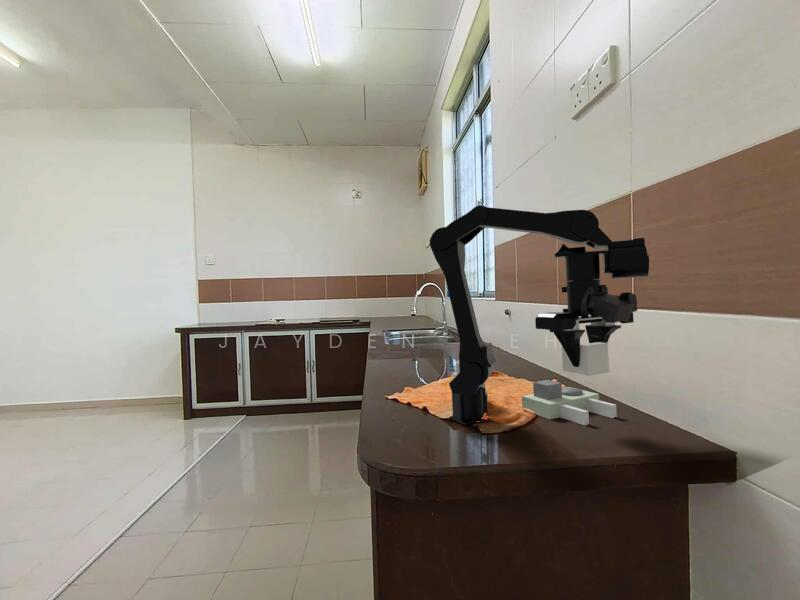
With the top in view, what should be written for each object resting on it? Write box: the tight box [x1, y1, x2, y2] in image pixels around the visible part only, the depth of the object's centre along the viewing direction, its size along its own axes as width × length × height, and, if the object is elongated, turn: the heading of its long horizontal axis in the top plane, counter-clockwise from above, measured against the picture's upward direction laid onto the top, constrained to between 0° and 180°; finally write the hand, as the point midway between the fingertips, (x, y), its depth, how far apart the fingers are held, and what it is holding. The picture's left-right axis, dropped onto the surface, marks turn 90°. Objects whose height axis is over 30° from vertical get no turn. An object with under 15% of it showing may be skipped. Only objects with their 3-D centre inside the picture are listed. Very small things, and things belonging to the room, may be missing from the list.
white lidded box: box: [561, 342, 610, 377], centre depth 75 cm, size 5×6×5 cm
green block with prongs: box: [521, 379, 617, 426], centre depth 85 cm, size 14×14×6 cm
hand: (587, 365), depth 75 cm, fingers closed on white lidded box, 5 cm apart
